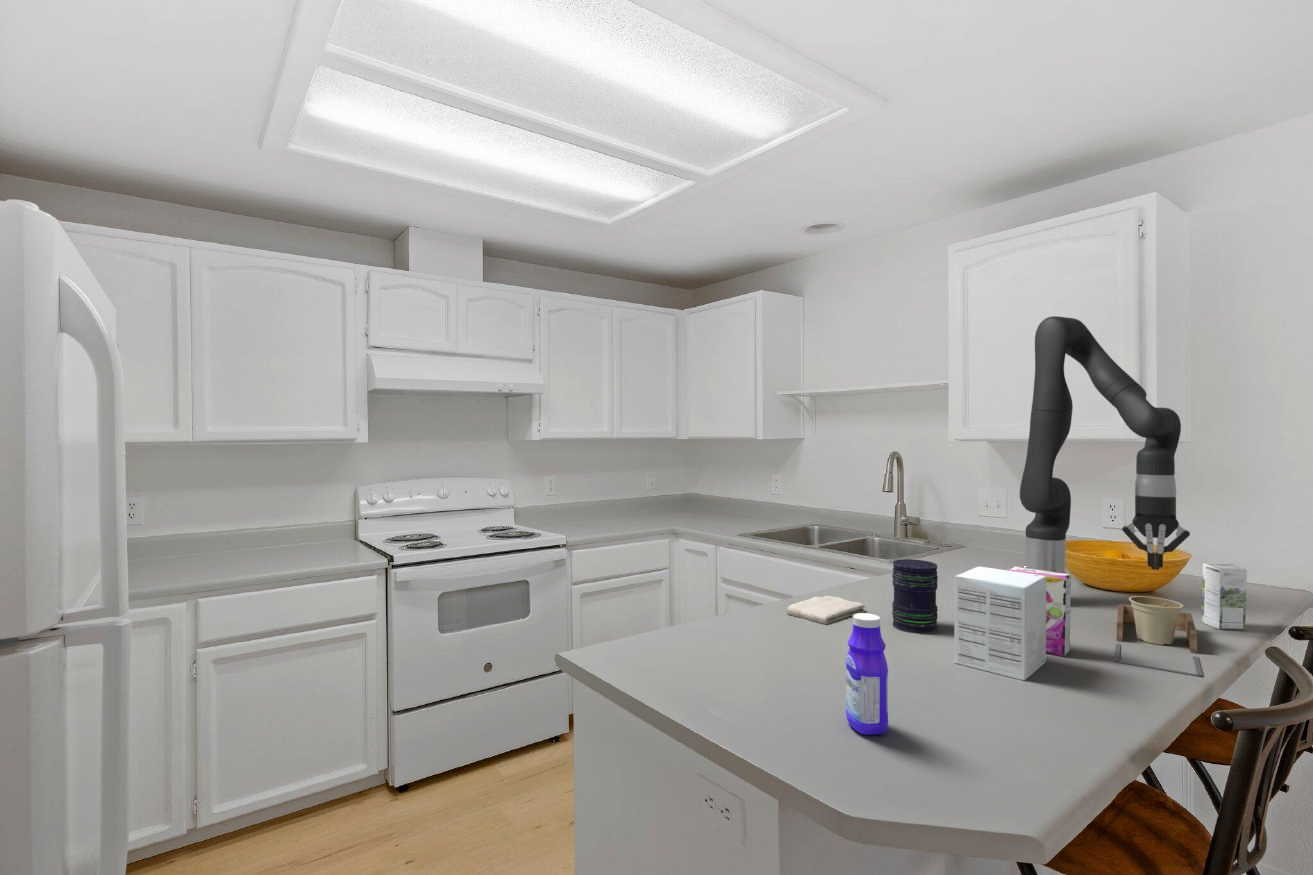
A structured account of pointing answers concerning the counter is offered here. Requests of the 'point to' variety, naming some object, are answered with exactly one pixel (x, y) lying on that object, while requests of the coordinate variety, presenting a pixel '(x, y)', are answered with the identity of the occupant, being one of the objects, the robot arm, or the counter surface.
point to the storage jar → (915, 596)
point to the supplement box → (1000, 621)
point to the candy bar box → (1055, 609)
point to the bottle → (867, 677)
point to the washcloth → (825, 609)
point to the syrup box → (1224, 596)
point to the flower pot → (1155, 618)
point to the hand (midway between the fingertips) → (1155, 569)
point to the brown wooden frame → (1182, 624)
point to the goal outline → (1196, 661)
